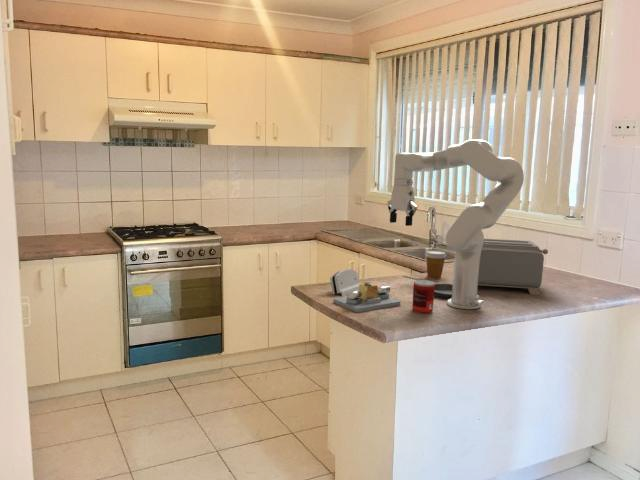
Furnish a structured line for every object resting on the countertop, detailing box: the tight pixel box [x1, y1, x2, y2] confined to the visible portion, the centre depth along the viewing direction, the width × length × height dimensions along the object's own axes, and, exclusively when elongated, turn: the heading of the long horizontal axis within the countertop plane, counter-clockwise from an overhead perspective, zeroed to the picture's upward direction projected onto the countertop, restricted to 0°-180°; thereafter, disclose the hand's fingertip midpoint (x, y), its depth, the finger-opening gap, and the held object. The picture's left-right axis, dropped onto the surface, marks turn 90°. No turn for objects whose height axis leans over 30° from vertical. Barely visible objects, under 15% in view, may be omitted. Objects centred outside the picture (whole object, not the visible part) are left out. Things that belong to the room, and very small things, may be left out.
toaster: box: [478, 238, 549, 296], centre depth 251 cm, size 19×35×20 cm, turn 82°
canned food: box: [411, 279, 436, 315], centre depth 211 cm, size 8×8×11 cm
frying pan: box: [402, 275, 453, 300], centre depth 241 cm, size 18×32×4 cm, turn 46°
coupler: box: [359, 281, 379, 302], centre depth 218 cm, size 5×5×7 cm
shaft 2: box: [377, 285, 391, 300], centre depth 222 cm, size 6×4×6 cm
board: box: [332, 296, 402, 313], centre depth 218 cm, size 21×15×3 cm
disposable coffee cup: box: [425, 250, 447, 280], centre depth 266 cm, size 10×10×12 cm
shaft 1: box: [346, 290, 362, 305], centre depth 213 cm, size 6×4×6 cm
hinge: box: [329, 268, 362, 297], centre depth 236 cm, size 17×5×10 cm, turn 144°
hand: (400, 224), depth 236 cm, fingers open, 9 cm apart
